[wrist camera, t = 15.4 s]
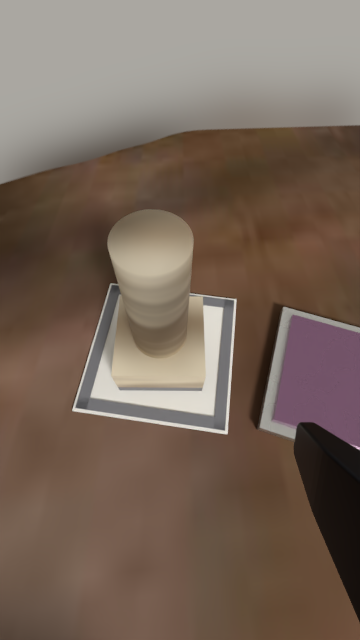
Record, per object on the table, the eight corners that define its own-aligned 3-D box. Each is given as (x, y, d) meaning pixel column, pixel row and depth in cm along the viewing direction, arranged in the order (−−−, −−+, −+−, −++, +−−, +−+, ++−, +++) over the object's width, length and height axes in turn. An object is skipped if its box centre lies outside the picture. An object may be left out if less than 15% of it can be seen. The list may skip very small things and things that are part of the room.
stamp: (201, 390, 23) (227, 301, 12) (119, 390, 23) (66, 300, 12) (199, 318, 25) (218, 191, 14) (126, 318, 25) (89, 190, 14)
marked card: (227, 434, 21) (227, 433, 21) (72, 411, 22) (71, 410, 22) (236, 300, 27) (236, 298, 26) (110, 284, 27) (110, 282, 27)
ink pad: (407, 479, 20) (419, 479, 19) (256, 429, 22) (261, 426, 21) (404, 345, 25) (414, 339, 24) (280, 311, 26) (284, 304, 25)
